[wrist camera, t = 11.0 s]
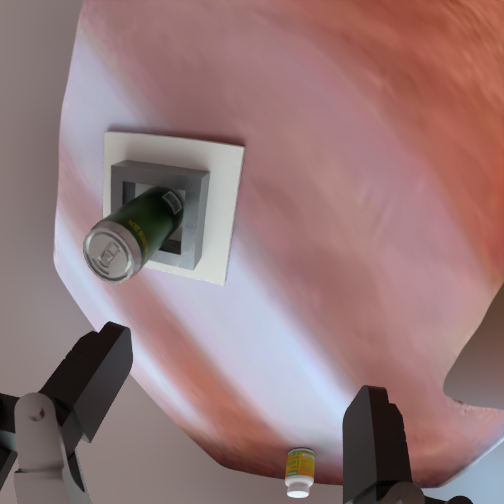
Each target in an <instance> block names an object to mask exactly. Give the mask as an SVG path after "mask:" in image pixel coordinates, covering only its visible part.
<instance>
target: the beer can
mask: <svg viewBox="0 0 504 504" xmlns="http://www.w3.org/2000/svg"><path fill="white" fill-rule="evenodd" d="M183 214H184V208H183V204H182V201H181V199H180V198H179V196H178V195H177V194H176V193H175V192H173V191H172V190H170V189H168V188H165V187H153V188H150V189H148V190H147V191H145V192H144V193H142V194H140V195H139V196H137V197H136V198H134V199H133V200H131V201H129V202H128V203H126V204H125V205H123V206H122V207H120V208H119V209H117V210H116V211H114V212H113V213H111V214H110V215H108V216H107V217H105V218H104V219H103V220H101V221H100V222H98V223H97V224H96V225H95V226H94V227H93V228H92V229H91V230H90V233H89V234H88V235H87V236H86V238H85V240H84V242H83V253H84V257H85V260H86V262H87V264H88V266H89V268H90V269H91V270H92V272H93V273H94V274H95V275H96V276H98V277H99V278H100V279H101V280H104V281H106V282H108V283H113V284H119V283H123V282H125V281H126V280H127V279H130V278H132V277H133V276H135V275H136V274H137V273H138V272H139V271H140V269H141V268H142V267H143V266H144V265H145V264H146V263H147V262H148V260H149V259H150V258H151V257H152V256H153V255H154V254H155V253H156V252H157V250H158V249H159V248H160V247H161V246H162V245H163V244H164V243H165V242H166V241H167V239H168V238H169V237H170V236H171V235H172V234H173V233H174V232H175V231H176V230H177V229H178V228H179V226H180V225H181V223H182V221H183Z"/></svg>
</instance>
